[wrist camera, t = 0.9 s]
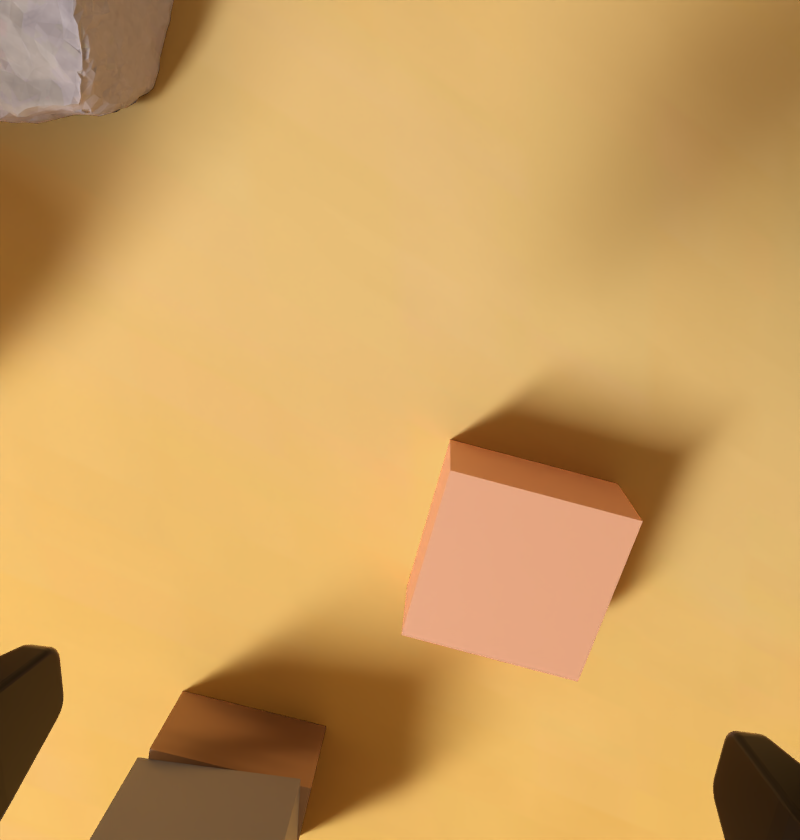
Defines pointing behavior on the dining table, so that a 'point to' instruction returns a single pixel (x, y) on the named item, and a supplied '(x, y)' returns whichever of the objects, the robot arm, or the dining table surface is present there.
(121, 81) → the stone block
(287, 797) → the gray block
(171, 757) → the walnut block
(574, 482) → the terracotta block
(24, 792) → the dining table surface
